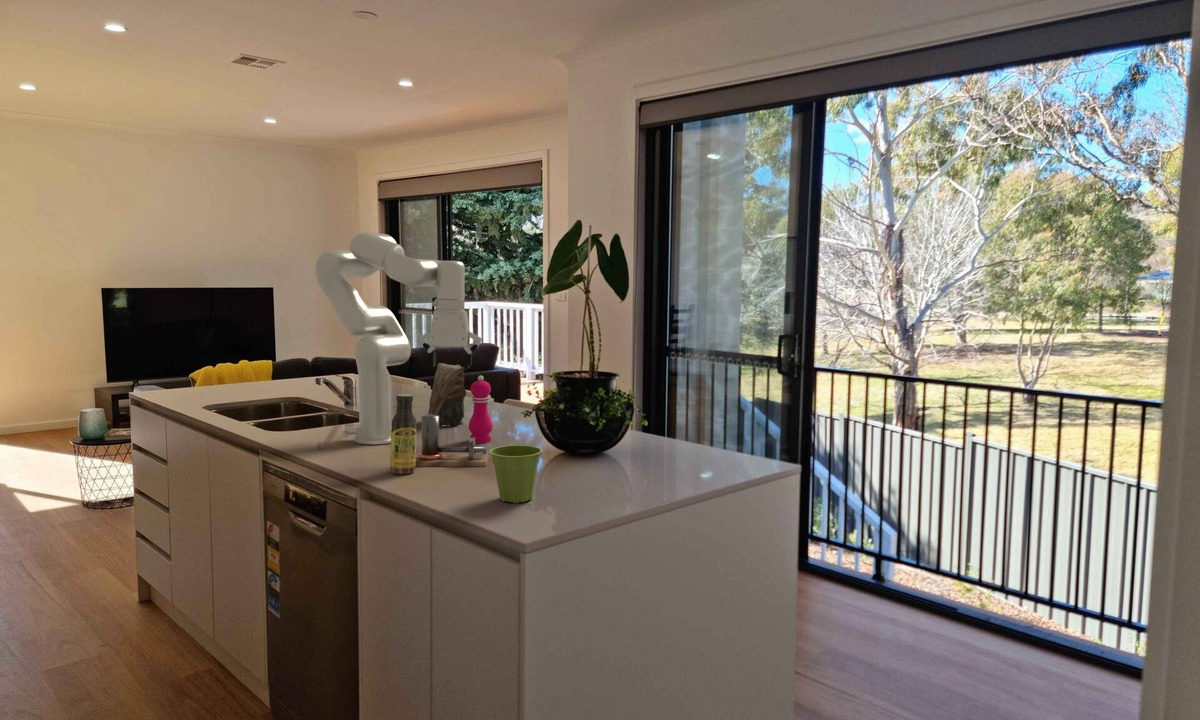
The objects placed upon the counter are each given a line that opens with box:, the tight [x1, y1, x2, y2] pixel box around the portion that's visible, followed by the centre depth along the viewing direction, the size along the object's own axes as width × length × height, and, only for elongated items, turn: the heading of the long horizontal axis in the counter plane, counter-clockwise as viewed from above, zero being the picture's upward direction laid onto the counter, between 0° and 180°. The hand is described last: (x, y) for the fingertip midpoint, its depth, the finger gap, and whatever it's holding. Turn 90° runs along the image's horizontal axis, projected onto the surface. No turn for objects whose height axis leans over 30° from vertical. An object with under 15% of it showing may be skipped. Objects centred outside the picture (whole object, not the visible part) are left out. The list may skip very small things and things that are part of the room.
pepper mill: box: [468, 375, 493, 444], centre depth 236 cm, size 7×7×20 cm
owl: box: [427, 362, 467, 426], centre depth 263 cm, size 13×13×20 cm
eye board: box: [415, 438, 489, 467], centre depth 210 cm, size 22×9×6 cm, turn 94°
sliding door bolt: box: [417, 414, 487, 460], centre depth 209 cm, size 18×6×11 cm, turn 94°
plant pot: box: [488, 444, 543, 504], centre depth 176 cm, size 12×12×11 cm
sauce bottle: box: [389, 393, 417, 476], centre depth 197 cm, size 7×6×20 cm
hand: (450, 367), depth 218 cm, fingers open, 9 cm apart
